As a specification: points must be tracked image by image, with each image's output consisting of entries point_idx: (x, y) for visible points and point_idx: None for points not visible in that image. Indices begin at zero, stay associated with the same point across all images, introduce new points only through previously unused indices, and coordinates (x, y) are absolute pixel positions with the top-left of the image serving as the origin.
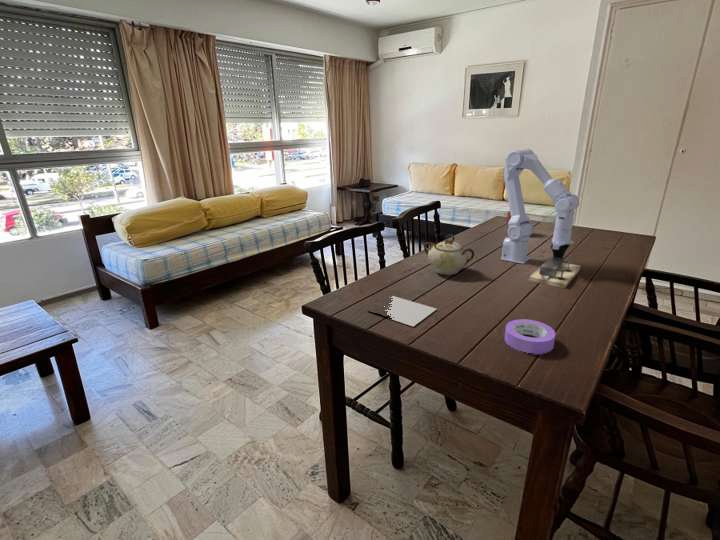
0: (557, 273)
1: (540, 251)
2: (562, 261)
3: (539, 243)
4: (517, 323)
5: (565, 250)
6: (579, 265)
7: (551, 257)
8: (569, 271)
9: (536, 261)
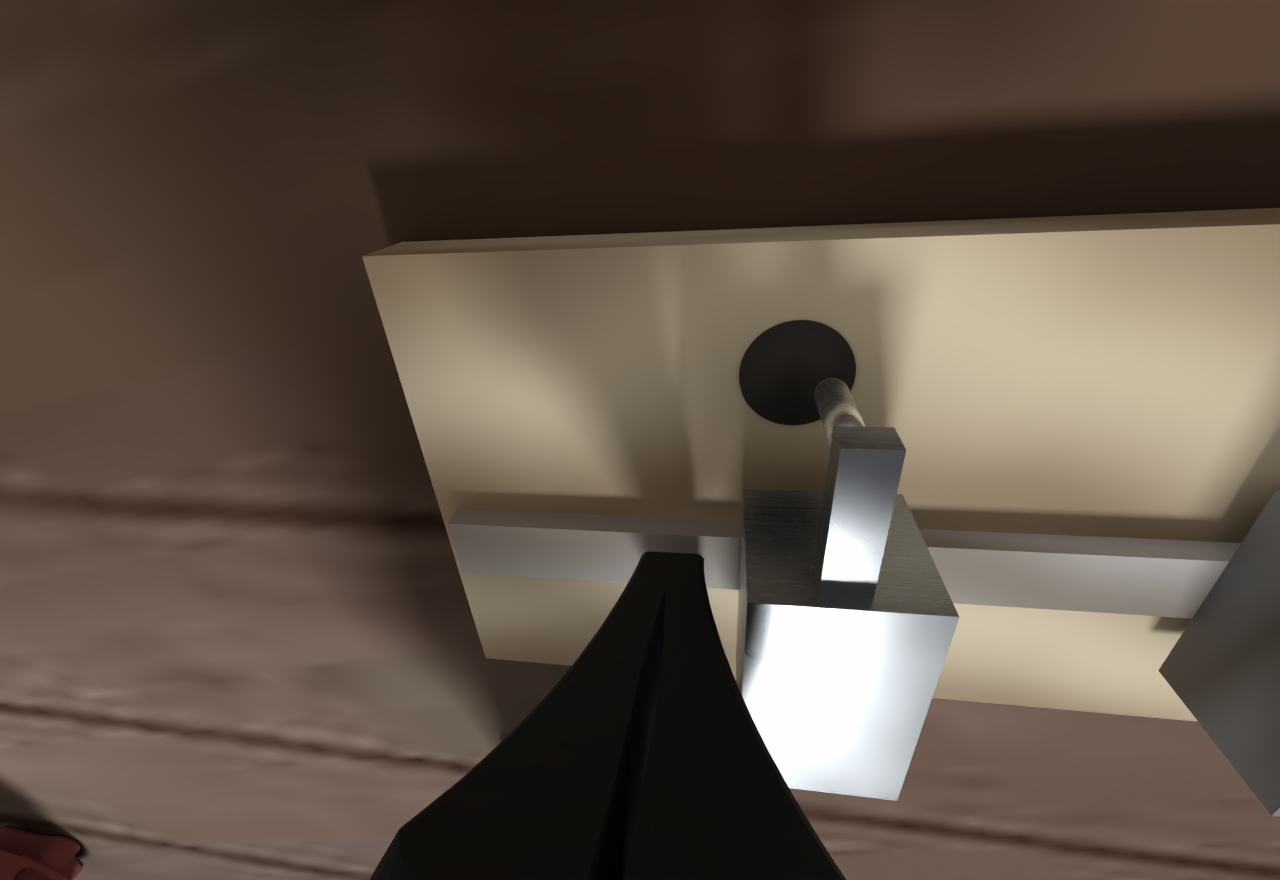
0: (1052, 483)
1: (211, 698)
2: (947, 601)
3: (36, 723)
4: None
5: (835, 873)
6: (370, 278)
7: (816, 768)
8: (846, 346)
9: (521, 693)
